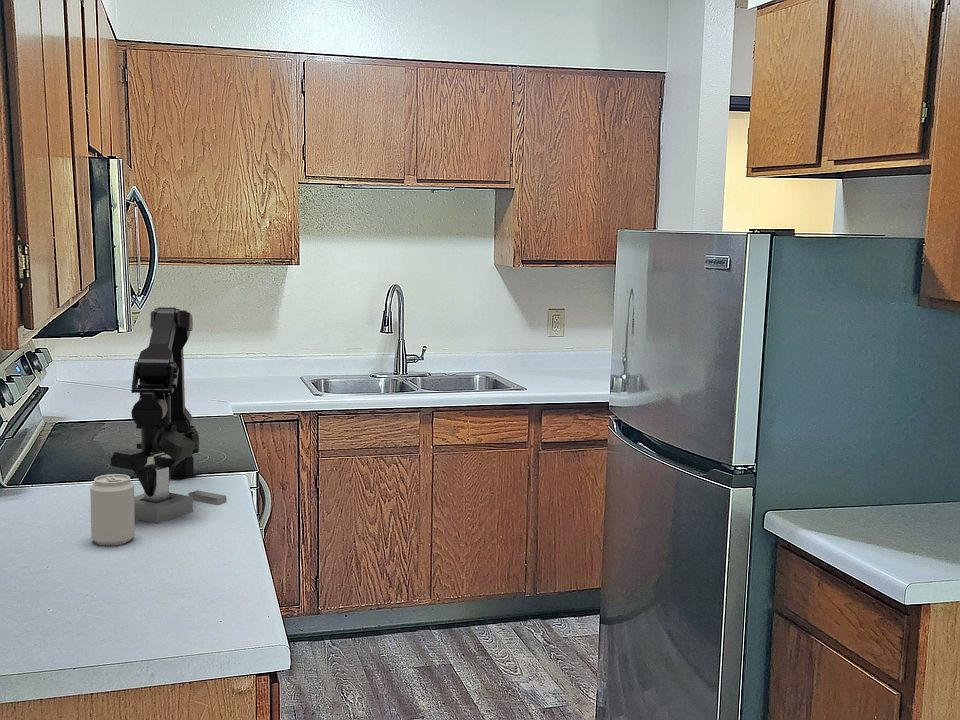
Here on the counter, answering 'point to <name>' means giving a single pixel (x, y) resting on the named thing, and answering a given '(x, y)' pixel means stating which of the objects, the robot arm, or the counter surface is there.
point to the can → (112, 509)
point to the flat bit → (208, 497)
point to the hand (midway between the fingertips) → (156, 494)
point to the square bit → (159, 486)
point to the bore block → (162, 508)
